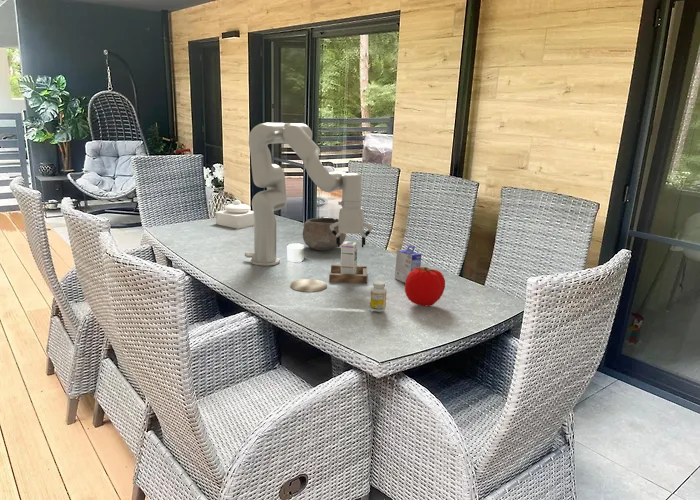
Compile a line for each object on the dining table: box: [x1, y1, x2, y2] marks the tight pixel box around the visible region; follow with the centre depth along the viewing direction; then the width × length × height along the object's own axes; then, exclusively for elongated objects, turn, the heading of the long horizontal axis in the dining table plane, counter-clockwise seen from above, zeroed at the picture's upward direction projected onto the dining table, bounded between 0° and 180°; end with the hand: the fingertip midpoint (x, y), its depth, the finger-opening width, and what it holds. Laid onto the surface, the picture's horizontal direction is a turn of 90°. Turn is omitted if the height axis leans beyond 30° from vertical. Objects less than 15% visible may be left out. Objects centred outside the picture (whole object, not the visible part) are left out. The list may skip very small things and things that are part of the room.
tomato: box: [404, 266, 446, 307], centre depth 190 cm, size 16×14×14 cm
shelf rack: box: [328, 264, 368, 284], centre depth 219 cm, size 15×14×3 cm
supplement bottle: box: [369, 280, 387, 312], centre depth 183 cm, size 5×5×10 cm
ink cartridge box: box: [394, 244, 422, 284], centre depth 215 cm, size 10×6×14 cm, turn 34°
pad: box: [290, 278, 328, 293], centre depth 205 cm, size 14×14×1 cm
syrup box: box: [340, 240, 358, 274], centre depth 217 cm, size 6×6×14 cm
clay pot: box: [302, 217, 347, 251], centre depth 260 cm, size 21×21×15 cm
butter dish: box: [214, 199, 254, 230], centre depth 304 cm, size 18×18×16 cm
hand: (350, 246), depth 216 cm, fingers open, 9 cm apart
